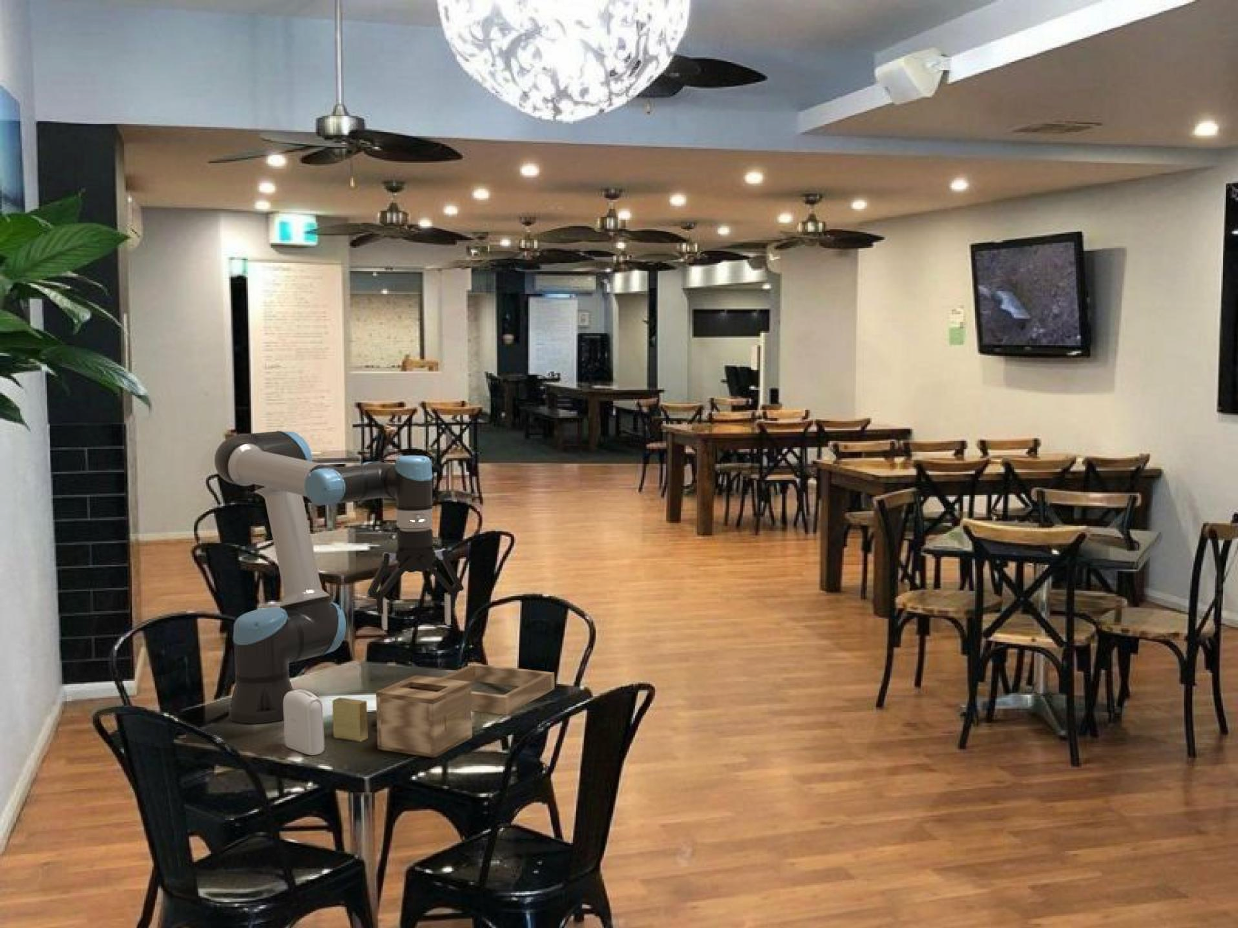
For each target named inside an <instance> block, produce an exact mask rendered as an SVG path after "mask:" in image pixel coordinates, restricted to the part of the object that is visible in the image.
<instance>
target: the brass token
mask: <svg viewBox="0 0 1238 928" xmlns="http://www.w3.org/2000/svg"><path fill="white" fill-rule="evenodd" d="M367 703H368V701H367V700H362V699H361V700H360V699H353V698H346V697H338V698H336V699H334V700H333V699H332V722H333V723H332V725H333V727H332V728H333V730H332V731H333V738H334V739H335V738H336V739H341V740H348V741H354V742H355V741H356V742H362V741H365V740H367V739H368V737H369V735H368V733H369V732H368V731H369V730H368V710H367V709H368V704H367Z"/></svg>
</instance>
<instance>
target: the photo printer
mask: <svg viewBox="0 0 1238 928" xmlns="http://www.w3.org/2000/svg"><path fill="white" fill-rule="evenodd" d="M323 707H324V706H323V703H322V701H321V699H320V698H319V697H318V696H316V695H315V694H313V693H312V692H310V691H308V690H304V689H293V691H290V692H288V693H287V694H286V695H285V697H284V700H283V711H284V719H283V725H284V726H283V729H284V743H285V746H286V747H287V748H289V749H291V750H293V751H297V752H300V753H301V754H305V755H309V756H317V755H320V754H322V753H323V751H325V732H324V730H325V729H324V712H323V711H324V710H323Z"/></svg>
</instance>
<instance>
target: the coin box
mask: <svg viewBox="0 0 1238 928" xmlns="http://www.w3.org/2000/svg"><path fill="white" fill-rule="evenodd" d="M471 691H472V683H471V682H468V681H459V680H451V679H443V678H442V677H432V676H425V675H424V676H423V675H417V674H416V675H413V676H411V677H408V678H406V679H404V680H401V681H399V682H396V683H394V684H391V685H389V686H386V687H384V688H382V689H379V690H378V691H375V704H376V705H375V707H376V732H377V733H376V734H377V735H376V736H377V749H378V750H381V751H388V752H394V753H402V754H408V755H413V756H421V757H427V758H434V759H435V758H437V757H439V756H441V755H442V754H445V753H446V752H448V751H450V750H452V749H454V748H456V747H457V746H459V745H461V744H463V743H465V742H466V741H468V740H470V739H472V738H473V719H472V717H473V715H472V714H473V713H472V710H471Z"/></svg>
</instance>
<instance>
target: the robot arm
mask: <svg viewBox="0 0 1238 928" xmlns="http://www.w3.org/2000/svg"><path fill="white" fill-rule="evenodd" d="M214 467H215V470H216V472H217V473H218V475H219V476H220V478H222V479H223V480H224V481H226V482H228V483H230V484H234V485H238V486H243V487H248V486H252V485H255V489H256V493H257V494H258V495H260V496H262V497H263V498H264V500H265V501H264V503H265V506H266V510H267V512H266V513H267V516H268V520H269V525H270V530H271V535H272V541H273V545H274V551H275V555H276V556H275V557H276V561H277V566H278V569H279V574H280V581H281V585H282V590H283V594H284V598H283V600H282V601H281V603H280V604H279V607H266V608H258V609H254V610H251V611H249V612H245V613H243V614H241V615H240V616H238V617H237V619H236V620H235V621H234V624H233V636H232V641H233V646H234V647H233V649H234V670H235V672H234V673H235V685H234V688H233V693H232V697H231V700H230V704H229V706H228V718H229V720H230V721H233V722H236V723H240V724H267V723H273V722H279V721H284V711H283V700H284V697H285V695H286V694H287V693H288V692H290V691H294V689H293V686H292V683H291V681H290V680H291V679H290V667H289V666H290V665H289V664H290V663H294V662H298V661H302V660H303V661H304V660H307V659H310V658H315V657H320V656H325V655H326V654H329V653H332V652H334V651H336V650H337V649H338V648H339V647H340V646H341V645H342V642H343V640H344V639H345V637H346V633H347V632H346V631H347V630H346V629H347V621H346V615H345V613H344V611H343V609H341V606H340V605H339V604H338V603H336V602H332V601H331V600H332V599H331V596H330V594H329V593H328V592H326V591H325V590H323V589H322V585H321V584H322V583H321V580H320V575H319V569H318V565H317V560H316V556H315V551H314V545H313V540H312V535H311V530H310V527H309V522H308V516H307V511H306V507H305V502H304V497H307V499H308V500H309V501H310V502H311V503H312V504H314V505H315V506H316V505H317V506H324V505H325V506H332V505H336V504H342V503H349V502H358V501H366V500H373V499H384V498H385V499H392V500H393V499H395V500H396V527H397V528H398V530H397V531H396V534H397V535H396V539H397V541H396V543H397V544H396V545H397V546H396V549H397V550H396V551H395V552H387V551H383V552H382V554H381V562H380V564H379V567H378V569H377V571H376V573H375V574H374V577H373V580H372V581H371V583H370V585H369V587H368V589H367V595H368V596H369V597H370V598H374V599H376V600H375V602H376V603H375V604H376V612H377V614H378V615H381V628H382V630H384V631H387V630H388V600H387V599H388V598H386V595H387V594H388V593H389V591H390V590H391V589H392V588H393V586H394V585H395V584H396V582H397V581H398V580H399V579H400V577H402V576H403V574H404V573H405V572H408V573H415V572H417V573H418V572H419V573H423V572H425V571H426V570H428V572H430V573H431V575H433V577H435V579H436V580H437V581H438V582H439V583H440V584H441V585H442V586H443V587H444V588H445V590H447V592H445V593H444V623H445V624H446V626H451V625H452V623H451V622H452V620H451V617H452V616H451V615H452V612H451V611H452V610H453V609H455V608H456V594H457V593H459V592H462V591H464V590H465V588H464V585H463V584H462V582H461V580H460V578H459V576H458V574H457V572H456V570H455V569H454V567H453V565H452V563H451V561H450V557H449V552H448V549H446V548H444V547H442V548H440V549H438V550H434V538H433V537H434V535H433V534H434V533H433V532H434V530H433V528H431V527H433V525H434V524H433V475H434V474H433V471H432V461H431V459H430V457H428V456H425V455H401V456H398V457H397V458H396V460H395V463H387V462H382V461H366V462H363V463H362V464H357V465H349V466H333V465H328V464H324V463H320V462H314V461H313V454H312V451H311V448H310V445H309V444H308V442H307V441H306V440H305V438H303V436H301V435H299V434H298V433H296V432H294V431H282V430H276V431H266V432H252V433H237V434H235V435H233V436H230V437H228V438H227V439H225V440H223V441H222V442H221V443H220V445H219V446H218V447H217V449H216V451H215V455H214ZM436 557H437V558H438V560H440V561H442V564H443V565H444V568H445V570H446V572H447V573H448V575H449V577H450V578H451V580H452V582H453V584H454V585H453V586H452V585H451V584H450V583H449V582H448V581H447V580H446V578H445V577H443V575H442V574H441V573H440V572H439V571H438V570H437V568H435V567H434V566H433V564H432V562H433V561H434V560H435V558H436ZM394 560H396V562H398V565H397V566H396V567H395V569H394V570H393V572H392V573H391V575H390V576H389V577H388V578H387V579H386V580H385V582H384V583H383V585H381V587H380V584H381V582H382V580H383V578H384V576H385V574H386V572H387V570H388V567H389V565H390V564H392V563H393V561H394ZM379 587H380V588H379Z"/></svg>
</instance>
